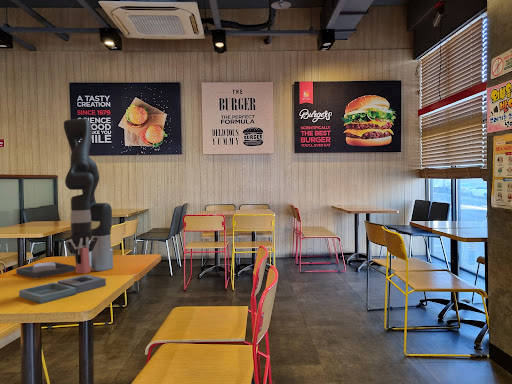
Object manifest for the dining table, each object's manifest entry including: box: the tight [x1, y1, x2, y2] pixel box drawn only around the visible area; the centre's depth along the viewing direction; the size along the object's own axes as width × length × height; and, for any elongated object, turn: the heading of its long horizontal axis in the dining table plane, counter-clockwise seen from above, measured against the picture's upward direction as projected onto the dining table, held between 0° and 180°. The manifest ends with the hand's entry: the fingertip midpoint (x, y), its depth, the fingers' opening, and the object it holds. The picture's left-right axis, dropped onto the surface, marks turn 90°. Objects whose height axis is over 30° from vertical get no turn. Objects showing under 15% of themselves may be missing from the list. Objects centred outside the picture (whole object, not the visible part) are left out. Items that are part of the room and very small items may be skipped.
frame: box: [15, 261, 76, 279], centre depth 175 cm, size 18×19×2 cm
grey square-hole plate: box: [57, 274, 107, 294], centre depth 147 cm, size 12×14×4 cm
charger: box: [32, 261, 56, 273], centre depth 175 cm, size 5×9×15 cm
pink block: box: [74, 247, 91, 274], centre depth 147 cm, size 2×6×10 cm, turn 57°
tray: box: [18, 281, 77, 305], centre depth 136 cm, size 13×16×2 cm
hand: (82, 262), depth 147 cm, fingers closed on pink block, 2 cm apart
